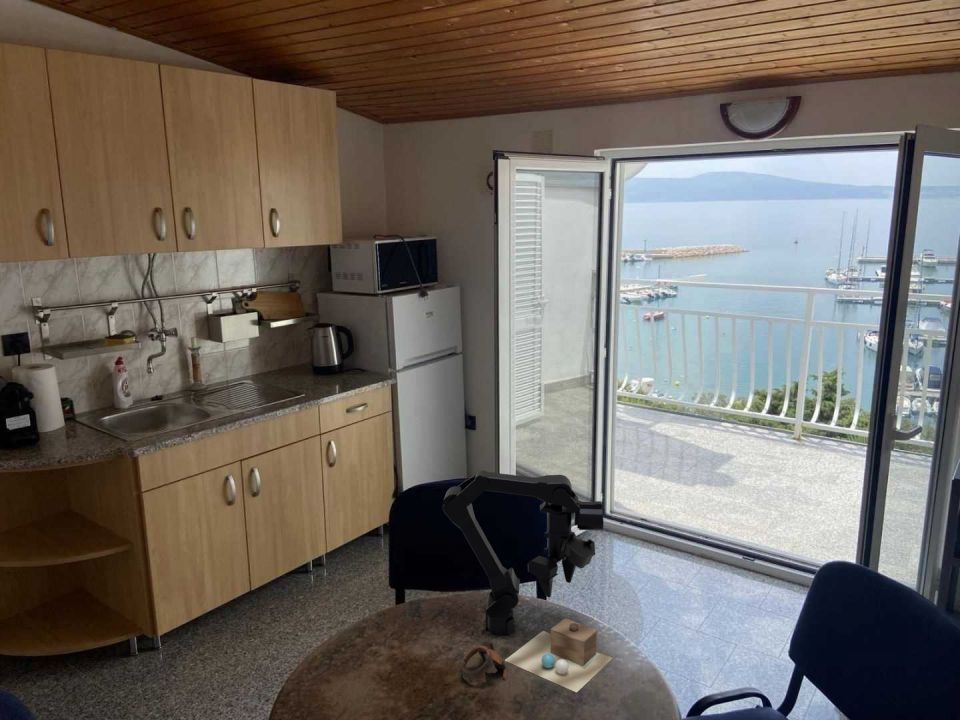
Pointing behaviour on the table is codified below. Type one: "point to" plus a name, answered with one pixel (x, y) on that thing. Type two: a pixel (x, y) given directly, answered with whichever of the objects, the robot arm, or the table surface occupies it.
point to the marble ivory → (561, 666)
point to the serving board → (540, 646)
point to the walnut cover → (573, 641)
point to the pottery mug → (489, 658)
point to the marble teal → (548, 660)
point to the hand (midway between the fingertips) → (558, 589)
